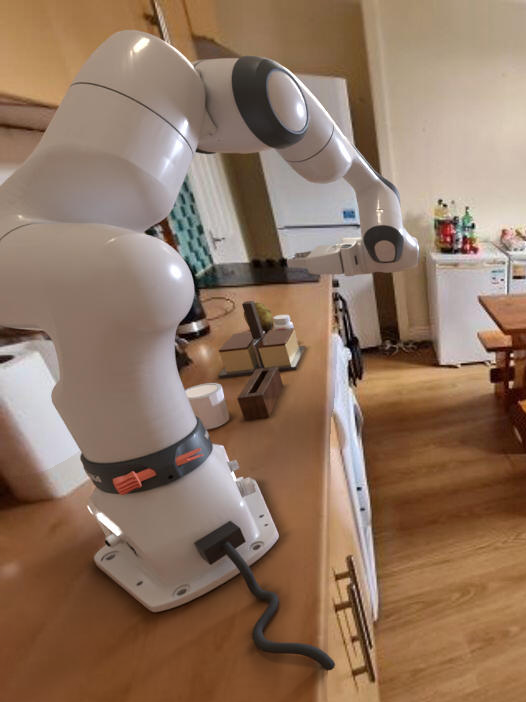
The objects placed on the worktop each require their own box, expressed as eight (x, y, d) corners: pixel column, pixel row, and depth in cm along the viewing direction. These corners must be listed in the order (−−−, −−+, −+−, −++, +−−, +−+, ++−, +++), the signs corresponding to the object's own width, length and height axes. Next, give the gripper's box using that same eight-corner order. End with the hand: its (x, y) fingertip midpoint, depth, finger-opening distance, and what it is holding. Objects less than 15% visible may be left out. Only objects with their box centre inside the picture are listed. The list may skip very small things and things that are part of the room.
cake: (296, 369, 103) (289, 344, 100) (219, 378, 99) (209, 353, 96) (305, 348, 116) (299, 325, 113) (237, 355, 112) (229, 332, 109)
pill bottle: (281, 349, 116) (273, 320, 112) (277, 344, 119) (269, 316, 115) (300, 345, 118) (292, 316, 114) (295, 340, 121) (288, 313, 118)
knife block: (269, 416, 83) (262, 394, 81) (244, 420, 82) (236, 398, 80) (283, 386, 95) (277, 366, 93) (262, 389, 94) (255, 369, 92)
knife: (264, 366, 103) (246, 307, 97) (256, 367, 103) (237, 308, 96) (273, 351, 112) (257, 296, 105) (265, 352, 112) (248, 297, 105)
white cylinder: (213, 433, 78) (199, 400, 75) (182, 429, 79) (168, 397, 76) (241, 414, 84) (230, 383, 81) (212, 411, 85) (200, 381, 82)
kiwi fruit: (244, 338, 124) (236, 312, 120) (249, 326, 134) (242, 301, 131) (275, 334, 127) (268, 309, 123) (278, 322, 137) (271, 298, 134)
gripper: (352, 238, 110) (296, 240, 107) (347, 249, 92) (279, 252, 89) (356, 262, 113) (301, 265, 110) (352, 277, 95) (286, 282, 92)
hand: (291, 260), depth 99 cm, fingers open, 8 cm apart
